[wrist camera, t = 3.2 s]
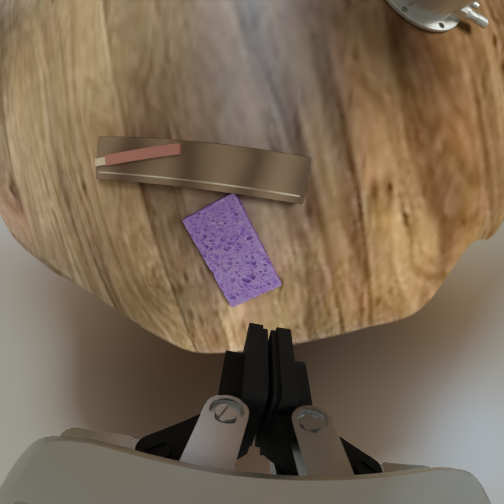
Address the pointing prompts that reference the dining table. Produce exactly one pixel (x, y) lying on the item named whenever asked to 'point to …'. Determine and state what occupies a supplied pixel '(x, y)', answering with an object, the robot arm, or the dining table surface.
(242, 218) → the sponges
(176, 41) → the dining table surface
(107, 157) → the carpenters pencil
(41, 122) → the dining table surface
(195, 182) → the walnut board
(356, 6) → the dining table surface
